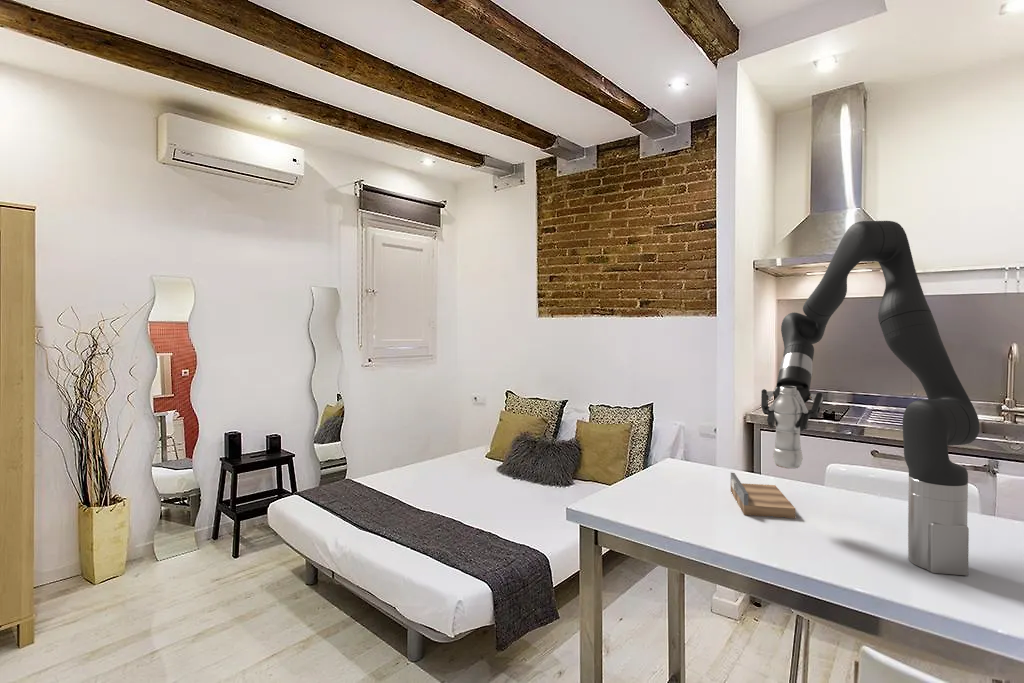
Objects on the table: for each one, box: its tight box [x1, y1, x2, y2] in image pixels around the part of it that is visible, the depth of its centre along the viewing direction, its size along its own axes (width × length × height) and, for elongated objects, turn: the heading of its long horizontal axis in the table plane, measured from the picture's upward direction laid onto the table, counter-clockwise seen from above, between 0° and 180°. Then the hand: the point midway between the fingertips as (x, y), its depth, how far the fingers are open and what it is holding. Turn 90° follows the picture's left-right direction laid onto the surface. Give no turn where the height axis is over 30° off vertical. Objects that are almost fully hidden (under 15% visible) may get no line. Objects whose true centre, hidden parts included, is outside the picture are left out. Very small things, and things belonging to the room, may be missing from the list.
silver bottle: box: [772, 386, 803, 470], centre depth 128 cm, size 6×7×20 cm
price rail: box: [730, 472, 748, 505], centre depth 144 cm, size 20×2×3 cm, turn 166°
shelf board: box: [730, 482, 796, 519], centre depth 142 cm, size 20×12×2 cm, turn 166°
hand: (786, 427), depth 127 cm, fingers closed on silver bottle, 6 cm apart
